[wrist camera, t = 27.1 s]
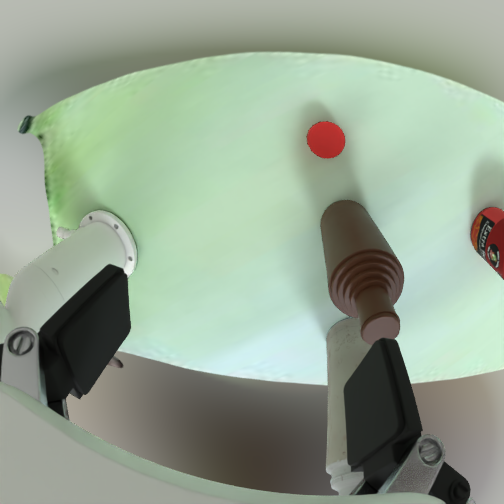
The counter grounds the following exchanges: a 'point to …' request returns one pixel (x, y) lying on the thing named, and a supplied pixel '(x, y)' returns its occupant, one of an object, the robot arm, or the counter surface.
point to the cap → (326, 139)
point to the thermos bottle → (341, 399)
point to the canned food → (490, 237)
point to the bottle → (361, 270)
